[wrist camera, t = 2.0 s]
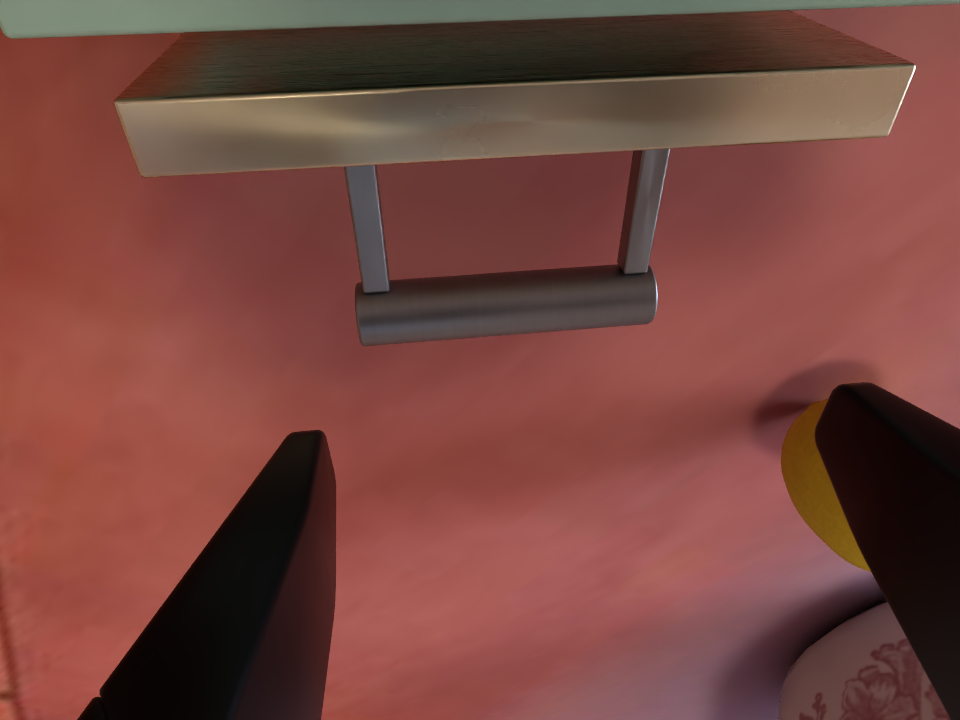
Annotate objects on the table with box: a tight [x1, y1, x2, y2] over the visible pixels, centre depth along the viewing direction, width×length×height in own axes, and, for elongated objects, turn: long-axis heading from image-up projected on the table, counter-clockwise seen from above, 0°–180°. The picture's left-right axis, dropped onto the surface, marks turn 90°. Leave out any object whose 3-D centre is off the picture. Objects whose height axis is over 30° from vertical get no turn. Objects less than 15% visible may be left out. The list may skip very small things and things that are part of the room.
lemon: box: [781, 399, 871, 572], centre depth 24 cm, size 6×6×8 cm
